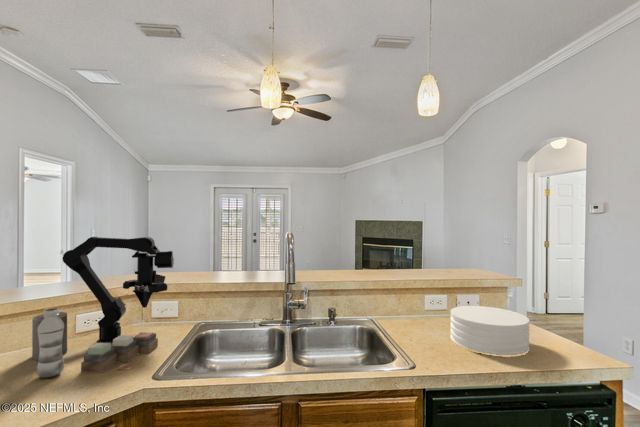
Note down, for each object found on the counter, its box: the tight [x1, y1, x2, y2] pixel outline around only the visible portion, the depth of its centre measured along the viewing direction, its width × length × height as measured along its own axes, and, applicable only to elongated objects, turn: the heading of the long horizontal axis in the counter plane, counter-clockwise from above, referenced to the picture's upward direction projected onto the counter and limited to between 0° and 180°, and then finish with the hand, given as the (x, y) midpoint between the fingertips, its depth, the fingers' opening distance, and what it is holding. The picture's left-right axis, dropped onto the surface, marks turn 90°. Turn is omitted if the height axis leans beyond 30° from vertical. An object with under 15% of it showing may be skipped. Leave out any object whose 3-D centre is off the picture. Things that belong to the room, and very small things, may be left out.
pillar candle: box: [31, 311, 68, 361], centre depth 122 cm, size 10×10×15 cm
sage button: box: [87, 342, 112, 355], centre depth 112 cm, size 4×4×2 cm
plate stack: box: [449, 305, 531, 355], centre depth 139 cm, size 28×28×12 cm
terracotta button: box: [134, 331, 154, 338], centre depth 128 cm, size 4×4×2 cm
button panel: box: [80, 332, 159, 373], centre depth 120 cm, size 14×22×5 cm, turn 1°
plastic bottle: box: [36, 307, 65, 379], centre depth 106 cm, size 6×7×20 cm
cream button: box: [112, 334, 134, 346], centre depth 120 cm, size 4×4×2 cm
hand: (144, 307), depth 140 cm, fingers closed
